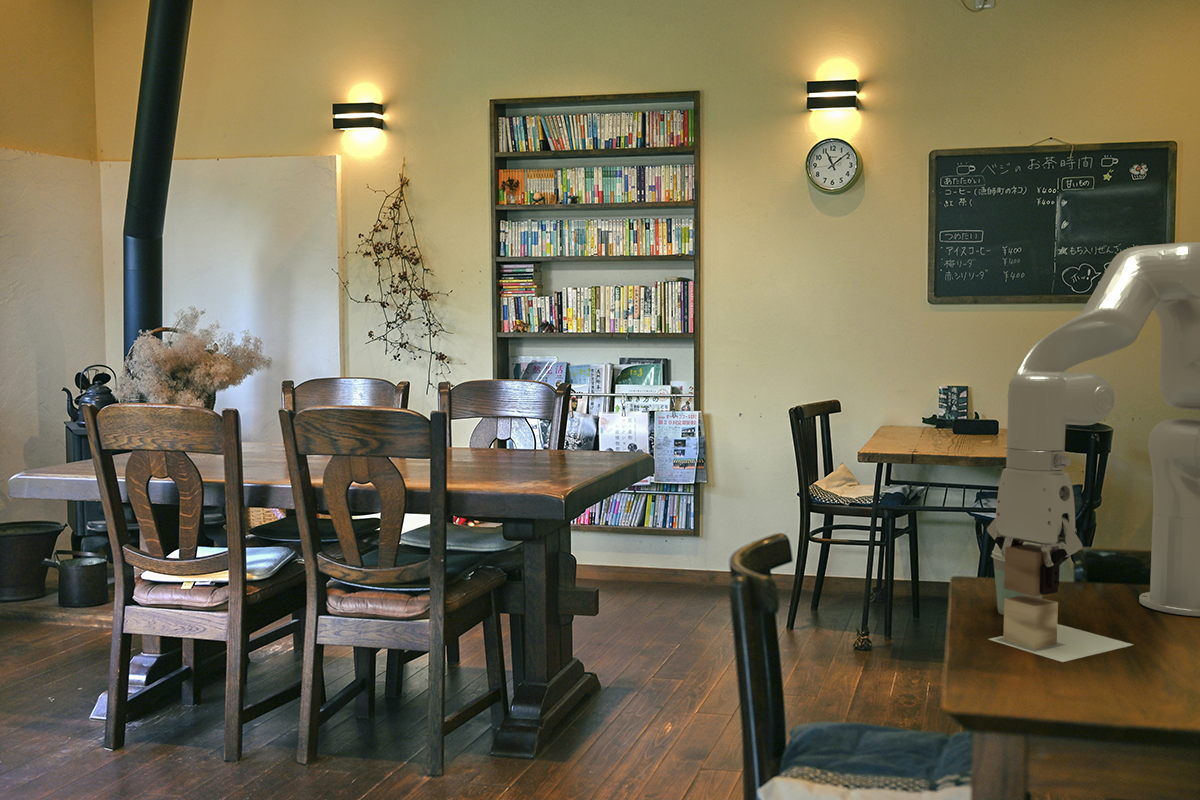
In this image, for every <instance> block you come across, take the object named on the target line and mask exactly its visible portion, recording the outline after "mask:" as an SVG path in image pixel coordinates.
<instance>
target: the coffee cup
mask: <svg viewBox="0 0 1200 800" xmlns="http://www.w3.org/2000/svg"><path fill="white" fill-rule="evenodd" d="M1024 544H1031V545H1036V546H1041V545H1040V544H1037V543H1032V542H1027V541H1024V543H1023V545H1024ZM990 557H991V558H992V559H993V560H992V561H993V571H994V581H995V592H996V602H997V604H996V605H997V611H998V614H1000V615H1002V616H1004V599H1006V598H1011V597H1017V596H1022V595H1027V594H1023V593H1019V592H1015V591H1011V590H1007V589H1004V581H1005V557H1003V556H1002V554H1001V549H1000V548H999V547H998V545H997V544H996V543H995V545H994V548H993V550H992V551H991V555H990ZM1035 597H1039V598H1043V597H1044V595H1040V596H1035Z"/></svg>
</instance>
